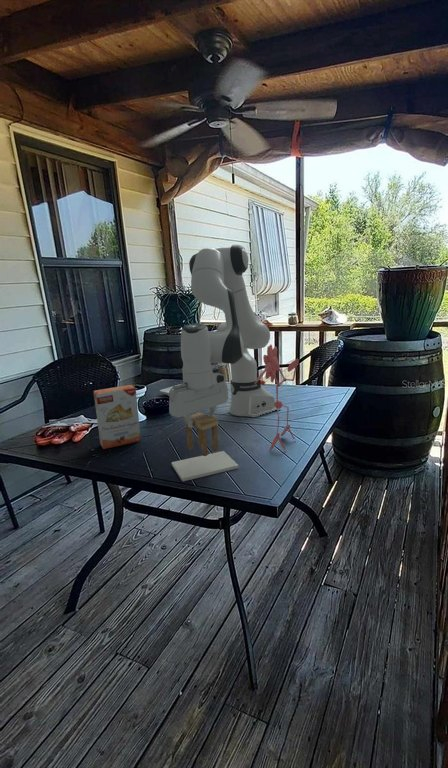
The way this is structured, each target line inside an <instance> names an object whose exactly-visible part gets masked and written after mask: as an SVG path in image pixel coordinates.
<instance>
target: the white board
mask: <svg viewBox="0 0 448 768" xmlns="http://www.w3.org/2000/svg"><path fill="white" fill-rule="evenodd" d="M171 466H172V468H173V469H174V471H175V472H176V474H177V475H178V477H179V479H180V480H181V481H182V482H186V481H187V482H188V481H190V480H191V481H192V480H194V479H198V478H203V477H207V476H211V475H215V474H219V473H225V472H228V471H232V470H236V469H239V464H238V463H237V462H236V461H235V460H233V458H232V457H231V456H230V455H229V454H227V453H226V451H225V450H222V451H221V450H220V451H216V452H213V453H208V455H207V456H203V455H199V456H198V455H197V456H195V457H190V458H185V459H181V460H175V461H172V462H171Z"/></svg>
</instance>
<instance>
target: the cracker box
mask: <svg viewBox="0 0 448 768" xmlns="http://www.w3.org/2000/svg"><path fill="white" fill-rule="evenodd" d="M93 398H94V406H95V412H96V420H97V421H96V422H97V428H98V429H97V430H98V434H99V435H98V437H99V442H100V443H99V444H100V446H101V447H102V449H103V450H107V449H110V448H115V447H120V446H124V445H129V444H133V443H139V442H141V429H140V421H139V420H140V419H139V418H140V417H139V408H138V400H137V388H136V387H135V386H133V385H132V384H127V385H121V386H115V387H109V388H102V389H97V390H93Z"/></svg>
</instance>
